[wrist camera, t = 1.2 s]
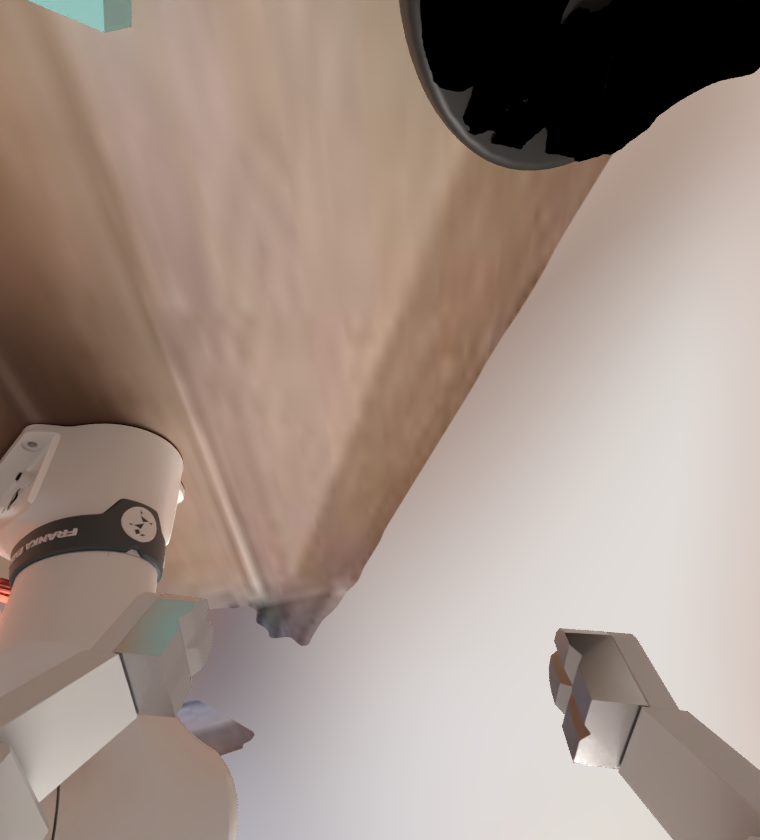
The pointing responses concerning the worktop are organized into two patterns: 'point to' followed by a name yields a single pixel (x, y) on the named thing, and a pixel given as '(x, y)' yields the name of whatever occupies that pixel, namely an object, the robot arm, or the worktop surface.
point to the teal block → (93, 12)
